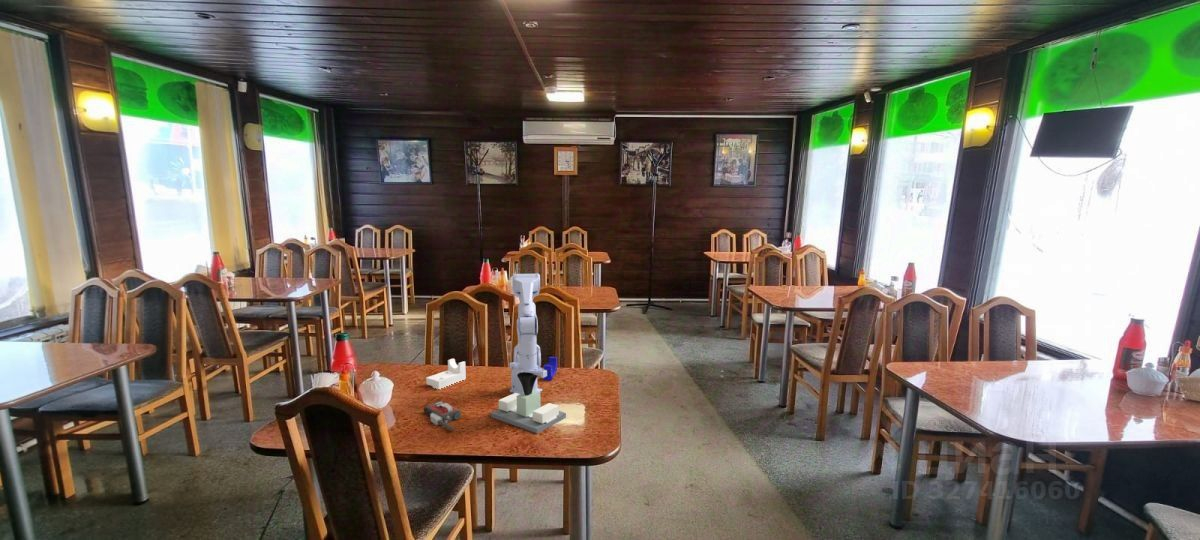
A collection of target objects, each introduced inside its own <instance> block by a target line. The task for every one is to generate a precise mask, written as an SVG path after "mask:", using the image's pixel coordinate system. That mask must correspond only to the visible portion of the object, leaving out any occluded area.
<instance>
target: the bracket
mask: <svg viewBox="0 0 1200 540" xmlns="http://www.w3.org/2000/svg"><path fill="white" fill-rule="evenodd" d="M466 369H467V368H466V361H465V360H464V361H461V362H458V363H457V362H456V359H455V358H450V359H448V360H447V370H444V371H441V372H439V373H436V374H433V375H429V376H427V377H426V379H425V380H426V385H428V386H431V387H432V389H435V388H436V390H438V389H440V390H442V389H441V388H443V389H445V388H447V387H446V386H448V387H450V386H452V385H451V384H453V385H455V384H454V383H456V382H458V383H460V382H459V381H461V382H463V381H462V380H464V381H466V380H465V379H467V377H466V376H467V374H466ZM456 384H457V383H456ZM449 385H450V386H449ZM444 387H445V388H444Z"/></svg>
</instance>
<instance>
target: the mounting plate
mask: <svg viewBox="0 0 1200 540" xmlns="http://www.w3.org/2000/svg"><path fill="white" fill-rule="evenodd" d="M518 395H520V394H518V393H512V394H509V395H507V396H505V397H503V398H500V399H498V409H496V410H494V411H492V412H490V418H492V419H494V420H495V419H496V420H497V421H501V422H503V423H506V424H509V425H513V426H515V427H517V428H521V429H523V430H526V431H529V432H532V433H535V434H539V433H541V432H543V431H544V430H547V429H548V428H550V427H552V426H553V425H555V424H557V423H558V422H560V421H562V420H564V419H566V418H567V413H566V412H564V411H561V410H560V406H559V405H557V404H554V403H550V402H548V403H546V404H544V405H542V404H541V407H540V408H538V409H536V410H534V411H533V413H532V414H531V415H529V416H527V417H525V416H522V415H519V414H517V396H518Z"/></svg>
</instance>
